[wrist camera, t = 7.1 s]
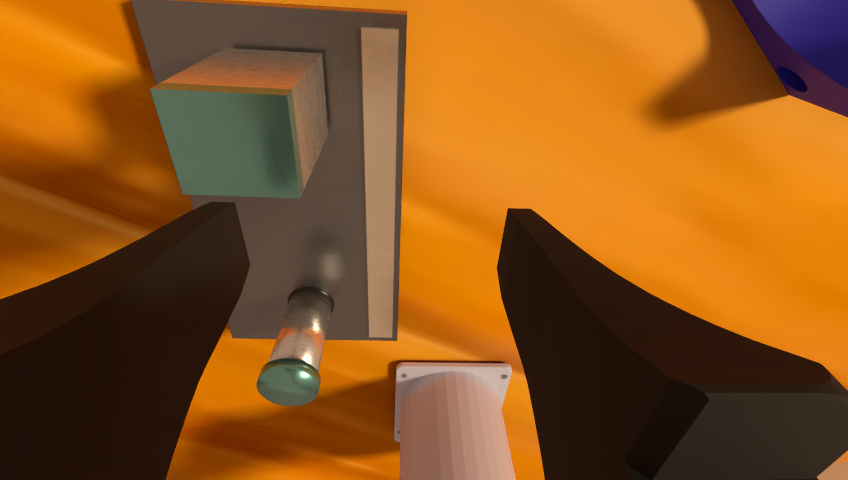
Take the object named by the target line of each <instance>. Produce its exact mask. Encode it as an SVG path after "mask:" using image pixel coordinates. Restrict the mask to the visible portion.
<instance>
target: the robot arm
mask: <svg viewBox="0 0 848 480" xmlns="http://www.w3.org/2000/svg"><path fill="white" fill-rule="evenodd" d="M249 267H250V261H249V257H248V253H247V249H246V245H245V241H244V237H243V233H242V229H241V225H240V221H239V216H238V212H237V208H236V204H235V202H209V203H207V204H204V205H202V206H200V207H198V208H196V209H194V210H192V211H190V212H188V213H187V214H185V215H183V216H181V217H179V218H178V219H176V220H174V221H172V222H170V223H168V224H167V225H165V226H163V227H161V228H159V229H158V230H156V231H154V232H152V233H150V234H148V235H147V236H145V237H143V238H141V239H139V240H137V241H135V242H133V243H131V244H129V245H127V246H125V247H123V248H122V249H120V250H118V251H116V252H114V253H112V254H110V255H108V256H106V257H104V258H102V259H100V260H98V261H96V262H93V263H91V264H89V265H87V266H85V267H82V268H80V269H78V270H76V271H73V272H71V273H69V274H66V275H64V276H61V277H59V278H57V279H54V280H52V281H49V282H47V283H44V284H42V285H39V286H37V287H34V288H31V289H28V290H25V291H23V292H20V293H17V294H14V295H11V296H8V297H6V298H3V299H0V480H166V476H167V473H168V470H169V466H170V463H171V460H172V457H173V454H174V451H175V448H176V445H177V442H178V439H179V436H180V433H181V430H182V427H183V424H184V421H185V418H186V415H187V412H188V410H189V407H190V404H191V401H192V399H193V396H194V393H195V390H196V388H197V385H198V382H199V380H200V378H201V376H202V373H203V371H204V369H205V367H206V365H207V363H208V361H209V359H210V357H211V355H212V353H213V351H214V349H215V347H216V345H217V343H218V341H219V339H220V337H221V335H222V333H223V331H224V329H225V327H226V325H227V323H228V321H229V319H230V317H231V315H232V313H233V311H234V308H235V306H236V304H237V302H238V300H239V298H240V296H241V293H242V290H243V287H244V284H245V281H246V277H247V274H248V271H249ZM497 272H498V278H499V285H500V291H501V296H502V301H503V304H504V307H505V311H506V314H507V317H508V320H509V324H510V327H511V330H512V333H513V336H514V339H515V343H516V346H517V349H518V352H519V355H520V358H521V362H522V365H523V368H524V372H525V376H526V379H527V383H528V388H529V393H530V398H531V403H532V408H533V413H534V418H535V424H536V429H537V435H538V440H539V446H540V451H541V457H542V464H543V470H544V476H545V480H818V479H817V476H818V475H819V474H821V473H822V472H823V471H824V470H825V469H826V468H828V467H829V466H830V465H831V464H832V463H833V462H835V461H836V460H837V459H838V458H839V457H840V456H842V455H843V454H844V453H845V452H846V451H848V391H847V390H846V389H845V388H844V387H843V386H842V385H841V384H840V382H839V381H838V380H837V379H836V378H835V377H834V376H833V375H832V374H831V373H830V372H829V371H828V370H827V369H826V368H825V367H824V366H823V365H821V364H820V363H817V362H814V361H812V360H809V359H806V358H803V357H800V356H797V355H794V354H791V353H788V352H785V351H783V350H780V349H777V348H774V347H771V346H768V345H765V344H762V343H759V342H757V341H754V340H751V339H749V338H746V337H744V336H741V335H739V334H736V333H734V332H731V331H729V330H726V329H724V328H721V327H719V326H716V325H714V324H712V323H710V322H707V321H705V320H703V319H700V318H698V317H696V316H694V315H692V314H689V313H687V312H685V311H683V310H681V309H679V308H677V307H675V306H673V305H671V304H669V303H667V302H665V301H663V300H661V299H659V298H657V297H655V296H654V295H652V294H650V293H648V292H646V291H645V290H643V289H641V288H639V287H638V286H636V285H634V284H633V283H631V282H629V281H628V280H626V279H624V278H623V277H621V276H619V275H618V274H616V273H615V272H613V271H612V270H610V269H609V268H607V267H606V266H604V265H603V264H601V263H600V262H599V261H597V260H596V259H594V258H593V257H591V256H590V255H589V254H587V253H586V252H585V251H583V250H582V249H581V248H579V247H578V246H577V245H576V244H574V243H573V242H572V241H570V240H569V239H568V238H567V237H565V236H564V235H563V234H562V233H560V232H559V231H558V230H557V229H556V228H554V227H553V226H552V225H551V224H549V223H548V222H547V221H546V220H545V219H543V218H542V217H541V216H539V215H538V214H537V213H536V212H534V211H533V210H531V209H512V208H508V211H507V216H506V222H505V227H504V233H503V238H502V244H501V249H500V254H499V260H498V265H497ZM511 373H512V368H511V366H510V365H509V364H506V363H432V362H401V363H399V364H398V365H397V366H396V391H395V424H394V440H395V441H397V442H400V476H399V480H516V478H515V473H514V468H513V464H512V459H511V454H510V449H509V444H508V439H507V434H506V429H505V424H504V419H503V414H502V405H503V402H504V398H505V395H506V391H507V388H508V384H509V380H510V377H511Z"/></svg>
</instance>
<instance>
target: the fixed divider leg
mask: <svg viewBox="0 0 848 480" xmlns="http://www.w3.org/2000/svg"><path fill="white" fill-rule="evenodd" d="M331 310H332V303H331V300H330V299H329V297H328V296H327V295H325V294H324V293H322V292H320V291H318V290H314V289H302V290H299V291H297V292H295V293H294V294H293V295H292V296H291V298H290V300H289V303H288V306H287V309H286V312H285V315H284V318H283V321H282V324H281V327H280V330H279V333H278V336H277V339H276V342H275V345H274V348H273V351H272V354H271V357H270V359H269V362H268V363H267V364H265V365H264V366H263V368H262V370H261V372H260V375H259V378H258V381H257V389H258V391H259V393H260V394H261V395H262V396H263V397H264V398H266V399H267V400H269V401H271V402H273V403H276V404H279V405H284V406H299V405H304V404H307V403H309V402H311V401H312V400H314V399H315V398H316V396H317V395H318V391H319V386H320V381H321V377H320V374H319V372H318V371H319V366H320V361H321V357H322V352H323V347H324V342H325V338H326V333H327V328H328V324H329V319H330V314H331Z"/></svg>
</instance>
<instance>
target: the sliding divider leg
mask: <svg viewBox="0 0 848 480" xmlns="http://www.w3.org/2000/svg"><path fill="white" fill-rule="evenodd" d="M150 91H151V94H152V98H153V101H154V104H155V107H156V110H157V114H158V117H159V120H160V123H161V126H162V130H163V133H164V136H165V139H166V142H167V146H168V149H169V152H170V155H171V158H172V162H173V165H174V168H175V171H176V174H177V178H178V181H179V184H180V187H181V190H182V194H187V195H216V196H245V197H274V198H301V195H302V193H303V191H304V189H305V186H306V184H307V182H308V179H309V177H310V175H311V172H312V170H313V168H314V165H315V163H316V161H317V159H318V156H319V154H320V152H321V149H322V147H323V145H324V142H325V140H326V138H327V135H328V125H327V112H326V100H325V87H324V74H323V61H322V53H308V52H290V51H272V50H254V49H236V48H224V49H223V50H221V51H219V52H217V53H215V54H213V55H211V56H210V57H208V58H206V59H204V60H202V61H200V62H198V63H197V64H195V65H193V66H191V67H189V68H187V69H185V70H184V71H182V72H180V73H178V74H176V75H174V76H172V77H171V78H169V79H167V80H165V81H163V82H161V83H159V84H158V85H156V86H154V87H152V88H150Z"/></svg>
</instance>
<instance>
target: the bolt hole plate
mask: <svg viewBox="0 0 848 480" xmlns="http://www.w3.org/2000/svg"><path fill="white" fill-rule="evenodd" d="M131 3H132V6H133V10H134V13H135V16H136V20H137V23H138V26H139V30H140V33H141V36H142V39H143V43H144V46H145V49H146V53H147V56H148V59H149V63H150V66H151V69H152V73H153V76H154V79H155V83H156V85H158V84H159V83H161V82H163V81H165V80H167V79H169V78H171V77H172V76H174V75H176V74H178V73H180V72H182V71H184V70H185V69H187V68H189V67H191V66H193V65H195V64H197V63H198V62H200V61H202V60H204V59H206V58H208V57H210V56H211V55H213V54H215V53H217V52H219V51H221V50H223V49H224V48H236V49H254V50H272V51H290V52H308V53H322V61H323V74H324V87H325V100H326V112H327V125H328V135H327V138H326V140H325V142H324V145H323V147H322V149H321V152H320V154H319V156H318V159H317V161H316V163H315V165H314V168H313V170H312V172H311V175H310V177H309V179H308V182H307V184H306V186H305V189H304V191H303V193H302V195H301V198H274V197H245V196H216V195H190V199H191V202H192V205H193V208H194V209H196V208H198V207H200V206H202V205H204V204H207V203H209V202H235V204H236V208H237V212H238V216H239V221H240V225H241V229H242V233H243V237H244V241H245V245H246V249H247V253H248V257H249V261H250V267H249V271H248V274H247V277H246V281H245V284H244V287H243V290H242V293H241V296H240V298H239V300H238V302H237V304H236V306H235V308H234V311H233V313H232V315H231V317H230V319H229V321H228V325H229V328H230V331H231V334H232V338H249V339H277V336H278V333H279V330H280V327H281V324H282V321H283V318H284V315H285V312H286V309H287V306H288V303H289V300H290V298H291V296H292V295H293V294H294V293H295V292H297V291H299V290H302V289H314V290H318V291H320V292H322V293H324V294H325V295H327V296H328V297H329V299H330V300H331V303H332V310H331V314H330V319H329V324H328V328H327V333H326V338H325V340H382V341H397V325H398V292H399V259H400V226H401V193H402V160H403V126H404V93H405V60H406V27H407V11H390V10H374V9H358V8H342V7H326V6H309V5H293V4H277V3H261V2H245V1H228V0H131Z"/></svg>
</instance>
